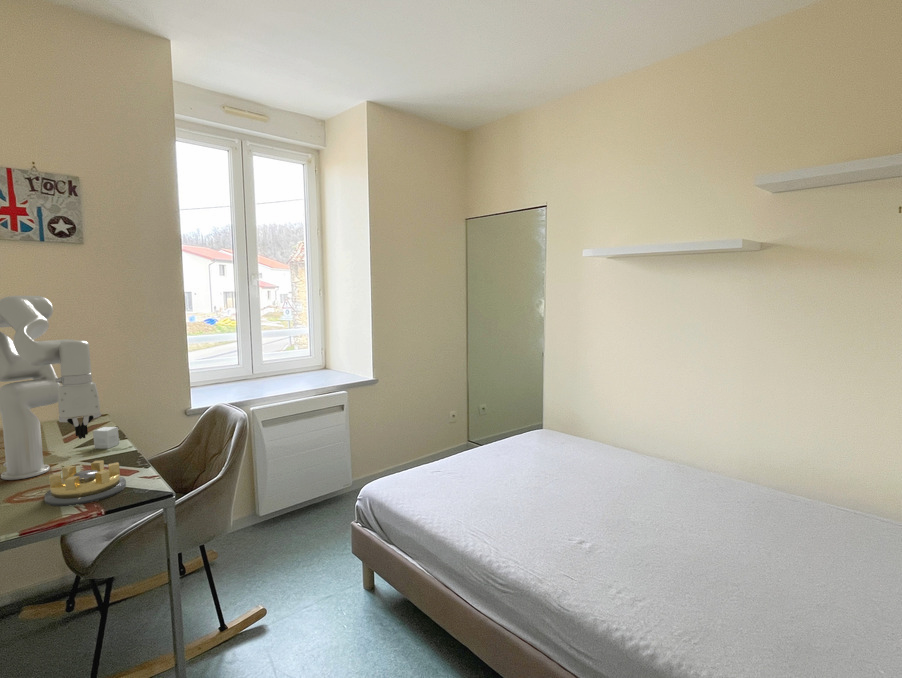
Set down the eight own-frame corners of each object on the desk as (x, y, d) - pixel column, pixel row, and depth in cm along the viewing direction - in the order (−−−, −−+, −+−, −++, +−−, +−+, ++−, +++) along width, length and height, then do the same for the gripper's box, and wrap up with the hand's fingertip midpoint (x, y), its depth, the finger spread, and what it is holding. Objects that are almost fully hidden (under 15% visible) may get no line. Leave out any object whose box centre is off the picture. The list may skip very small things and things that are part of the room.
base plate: (28, 501, 144) (27, 495, 144) (96, 477, 163) (96, 472, 163) (75, 510, 138) (75, 504, 137) (141, 484, 156) (140, 479, 156)
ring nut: (36, 494, 145) (35, 476, 144) (94, 474, 161) (93, 458, 160) (77, 501, 139) (75, 482, 139) (132, 480, 155) (131, 463, 155)
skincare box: (119, 444, 200) (118, 426, 200) (107, 448, 194) (106, 430, 194) (106, 444, 201) (104, 426, 200) (93, 448, 195) (92, 430, 194)
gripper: (46, 384, 145) (52, 445, 146) (107, 378, 155) (112, 435, 156) (45, 381, 151) (50, 440, 152) (104, 376, 160) (109, 430, 162)
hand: (82, 437), depth 154 cm, fingers closed
